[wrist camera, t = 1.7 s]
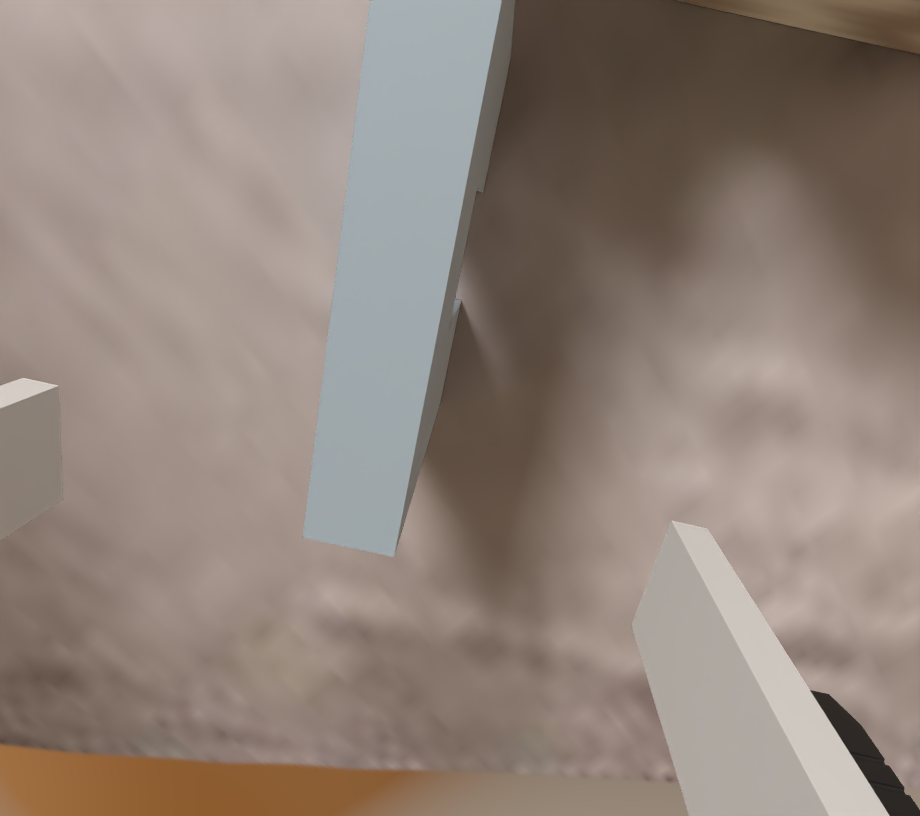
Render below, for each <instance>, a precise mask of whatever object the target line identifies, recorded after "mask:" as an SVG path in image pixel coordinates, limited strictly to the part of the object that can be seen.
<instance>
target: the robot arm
mask: <svg viewBox="0 0 920 816" xmlns="http://www.w3.org/2000/svg"><path fill="white" fill-rule="evenodd" d="M62 500H63V481H62V455H61V430H60V404H59V386H58V385H53V384H49V383H44V382H40V381H35V380H31V379H26V378H21V379H19V380H16V381H13V382H10V383H7V384H4V385H1V386H0V540H2V539H3V538H5V537H7V536H8V535H10V534H11V533H13V532H14V531H16V530H17V529H19V528H20V527H22V526H23V525H25V524H27V523H28V522H30V521H31V520H33V519H34V518H36V517H37V516H39V515H40V514H42V513H43V512H45V511H47V510H48V509H50V508H51V507H53V506H54V505H56V504H57V503H59V502H60V501H62ZM631 626H632V629H633V632H634V636H635V639H636V642H637V646H638V649H639V652H640V655H641V659H642V662H643V665H644V669H645V672H646V675H647V679H648V682H649V685H650V688H651V692H652V695H653V698H654V702H655V705H656V708H657V712H658V715H659V718H660V721H661V725H662V728H663V731H664V735H665V738H666V741H667V745H668V748H669V751H670V754H671V758H672V761H673V764H674V768H675V771H676V774H677V778H678V781H679V784H680V787H681V791H682V794H683V797H684V800H685V804H686V807H687V811H688V814H689V816H920V810H919V808H918V807H917V805H916V804H915V802H914V801H913V800H912V798H911V797H910V796H909V795H905V793H904V786H903V785H902V784H901V782H900V781H899V779H898V778H897V776H896V775H895V773H894V772H893V771H892V769H891V768H890V766H887V765H885V764H884V758H883V756H882V755H881V753H880V752H879V750H878V749H877V747H876V746H875V745H874V743H873V742H872V740H871V739H870V737H869V736H868V734H867V733H866V732H865V730H864V729H863V727H862V726H861V725H860V724H859V723H858V722H857V721H856V720H855V719H854V718H853V717H852V716H851V715H850V714H849V713H848V712H847V711H846V710H845V709H844V708H843V707H842V706H840V705H839V704H838V703H837V702H836V701H835V700H834V699H833V698H832V697H831V696H830V695H829V694H825V693H820V692H816V691H811V690H809V688H808V686H807V685H806V683H805V682H804V680H803V679H802V677H801V675H800V674H799V672H798V671H797V669H796V668H795V666H794V664H793V663H792V661H791V660H790V658H789V657H788V655H787V653H786V652H785V650H784V649H783V647H782V645H781V644H780V642H779V641H778V639H777V638H776V636H775V634H774V633H773V631H772V630H771V628H770V627H769V625H768V623H767V622H766V620H765V619H764V617H763V616H762V614H761V612H760V611H759V609H758V608H757V606H756V605H755V603H754V601H753V600H752V598H751V597H750V595H749V594H748V592H747V590H746V589H745V587H744V586H743V584H742V583H741V581H740V579H739V578H738V576H737V575H736V573H735V571H734V570H733V568H732V567H731V565H730V564H729V562H728V560H727V559H726V557H725V556H724V554H723V553H722V551H721V549H720V548H719V546H718V545H717V543H716V542H715V540H714V538H713V537H712V535H711V534H710V532H709V531H708V529H707V528H703V527H698V526H694V525H689V524H685V523H680V522H675V521H671V523H670V525H669V528H668V530H667V533H666V536H665V538H664V541H663V544H662V546H661V549H660V551H659V554H658V557H657V559H656V562H655V565H654V567H653V570H652V572H651V575H650V578H649V580H648V583H647V586H646V588H645V591H644V593H643V596H642V599H641V601H640V604H639V607H638V609H637V612H636V615H635V617H634V620H633V622H632V625H631Z"/></svg>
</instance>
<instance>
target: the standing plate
mask: <svg viewBox="0 0 920 816" xmlns="http://www.w3.org/2000/svg"><path fill="white" fill-rule="evenodd" d="M675 1H680V2H684V3H689V4H694V5H698V6H703V7H707V8H712V9H716V10H721V11H725V12H730V13H734V14H739V15H743V16H748V17H752V18H757V19H761V20H766V21H770V22H775V23H780V24H784V25H789V26H793V27H798V28H802V29H807V30H811V31H816V32H820V33H825V34H829V35H834V36H838V37H843V38H847V39H852V40H857V41H861V42H866V43H870V44H875V45H879V46H884V47H888V48H893V49H897V50H902V51H906V52H911V53H915V54H920V0H675Z"/></svg>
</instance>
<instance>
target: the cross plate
mask: <svg viewBox="0 0 920 816" xmlns="http://www.w3.org/2000/svg"><path fill="white" fill-rule="evenodd" d="M514 11H515V0H370V5H369V13H368V21H367V29H366V37H365V44H364V52H363V60H362V68H361V76H360V84H359V92H358V100H357V108H356V116H355V124H354V132H353V140H352V148H351V156H350V164H349V172H348V180H347V188H346V196H345V204H344V212H343V220H342V228H341V236H340V243H339V251H338V259H337V267H336V275H335V283H334V291H333V299H332V307H331V315H330V323H329V331H328V339H327V347H326V355H325V363H324V371H323V379H322V387H321V395H320V403H319V411H318V419H317V427H316V434H315V442H314V450H313V458H312V466H311V474H310V482H309V490H308V498H307V506H306V514H305V522H304V530H303V538H307V539H311V540H316V541H321V542H325V543H330V544H335V545H340V546H344V547H349V548H354V549H358V550H363V551H368V552H372V553H377V554H382V555H386V556H391V557H394V556H395V552H396V549H397V546H398V542H399V539H400V536H401V532H402V529H403V526H404V522H405V519H406V516H407V512H408V509H409V506H410V503H411V499H412V496H413V493H414V489H415V486H416V483H417V479H418V476H419V473H420V469H421V466H422V463H423V459H424V456H425V453H426V449H427V446H428V443H429V439H430V436H431V433H432V429H433V426H434V423H435V419H436V416H437V413H438V409H439V406H440V402H441V397H442V392H443V388H444V383H445V378H446V373H447V368H448V363H449V358H450V353H451V348H452V343H453V339H454V334H455V329H456V324H457V319H458V314H459V309H460V304H461V300H456V299H455V297H456V292H457V287H458V282H459V277H460V272H461V267H462V262H463V257H464V252H465V247H466V242H467V237H468V232H469V227H470V222H471V217H472V212H473V207H474V202H475V197H476V192H477V191H478V192H484V187H485V182H486V177H487V172H488V167H489V162H490V157H491V153H492V148H493V143H494V138H495V133H496V128H497V123H498V118H499V113H500V108H501V104H502V99H503V94H504V89H505V84H506V79H507V74H508V69H509V64H510V60H511V50H512V37H513V24H514Z"/></svg>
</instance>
